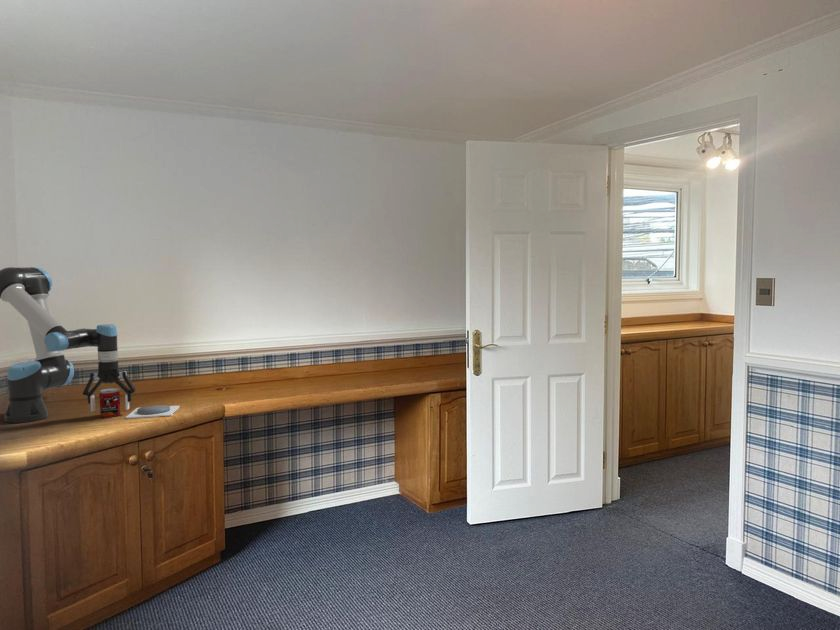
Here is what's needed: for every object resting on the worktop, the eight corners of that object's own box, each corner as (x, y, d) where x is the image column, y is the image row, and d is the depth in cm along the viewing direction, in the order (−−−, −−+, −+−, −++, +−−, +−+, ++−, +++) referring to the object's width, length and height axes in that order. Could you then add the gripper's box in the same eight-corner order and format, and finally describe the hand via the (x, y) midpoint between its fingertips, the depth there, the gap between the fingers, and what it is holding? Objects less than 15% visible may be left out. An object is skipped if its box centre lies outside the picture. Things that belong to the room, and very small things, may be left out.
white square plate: (125, 418, 246) (125, 414, 246) (137, 409, 263) (136, 405, 263) (171, 416, 249) (171, 411, 249) (179, 406, 267) (179, 402, 267)
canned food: (98, 418, 247) (97, 392, 246) (103, 413, 255) (101, 388, 254) (118, 416, 249) (117, 391, 248) (122, 412, 257) (121, 387, 256)
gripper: (72, 363, 244) (75, 413, 245) (137, 360, 249) (139, 410, 251) (79, 360, 251) (81, 409, 253) (142, 358, 256) (144, 406, 258)
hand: (110, 410), depth 252 cm, fingers open, 13 cm apart
